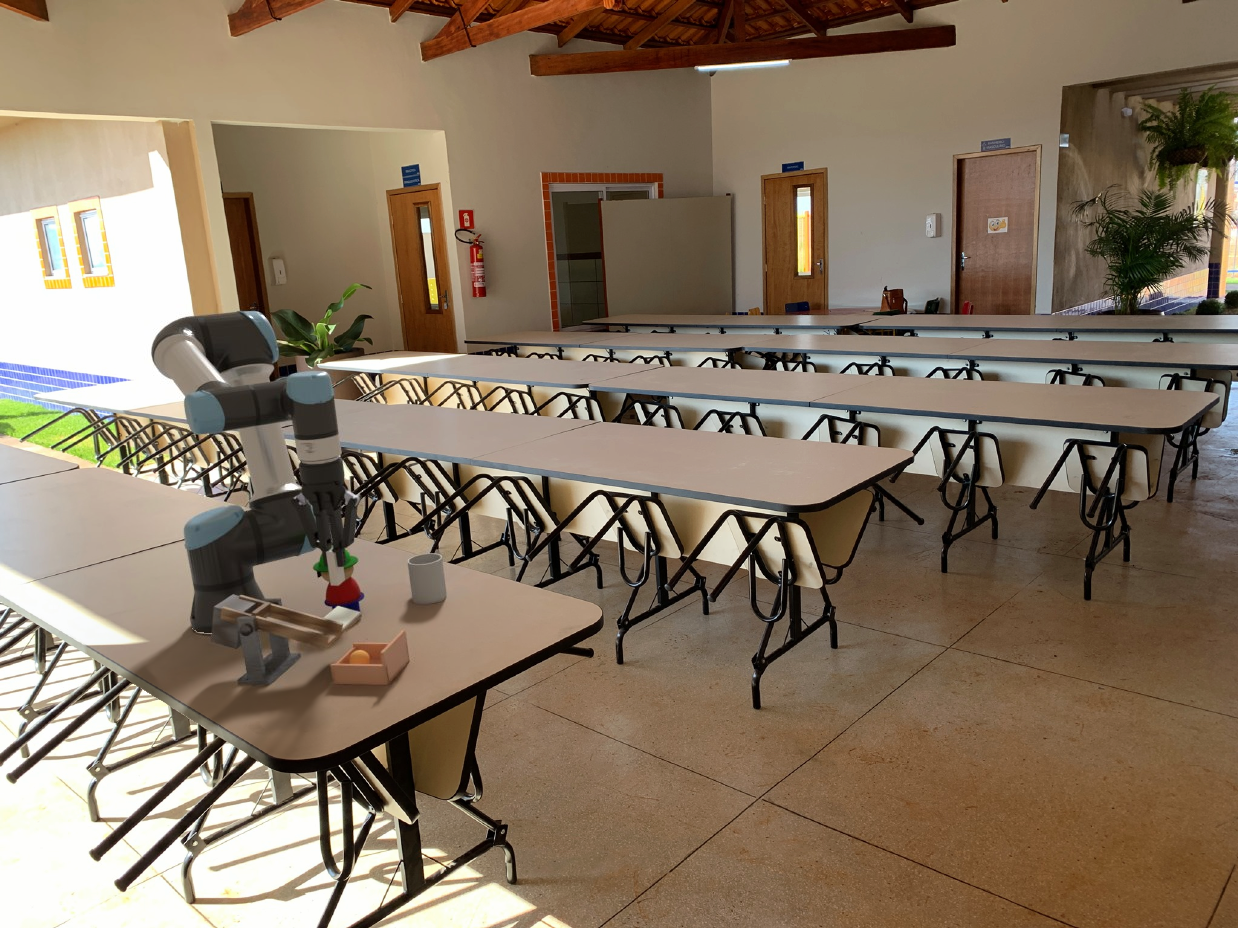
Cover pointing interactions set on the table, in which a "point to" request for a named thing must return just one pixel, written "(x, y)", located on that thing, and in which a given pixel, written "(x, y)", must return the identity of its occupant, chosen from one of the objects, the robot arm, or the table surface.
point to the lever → (278, 622)
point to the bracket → (255, 665)
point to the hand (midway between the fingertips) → (338, 582)
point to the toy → (341, 585)
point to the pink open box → (373, 663)
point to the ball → (359, 657)
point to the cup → (427, 578)
